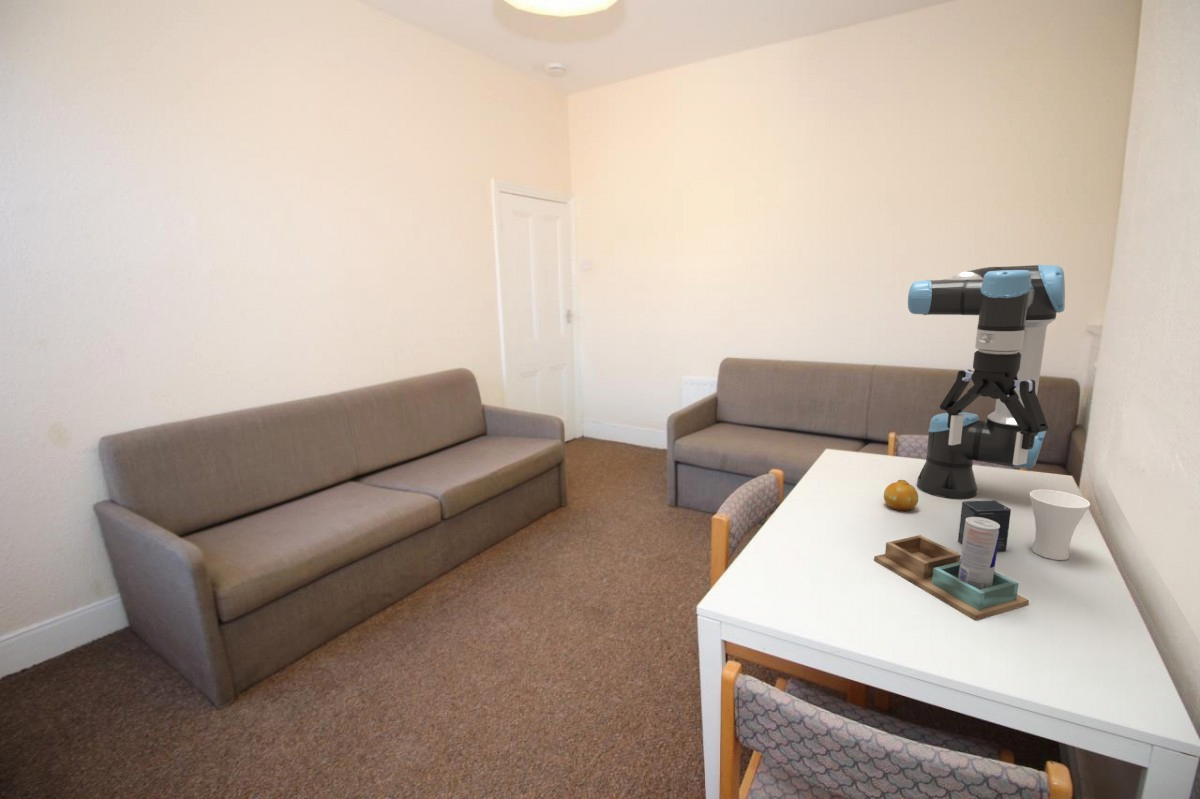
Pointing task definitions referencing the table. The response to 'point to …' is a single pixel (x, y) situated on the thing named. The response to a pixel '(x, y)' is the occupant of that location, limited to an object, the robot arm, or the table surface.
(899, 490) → the fruit
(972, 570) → the beverage can
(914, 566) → the socket board
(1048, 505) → the cup
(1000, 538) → the box
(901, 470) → the table surface
